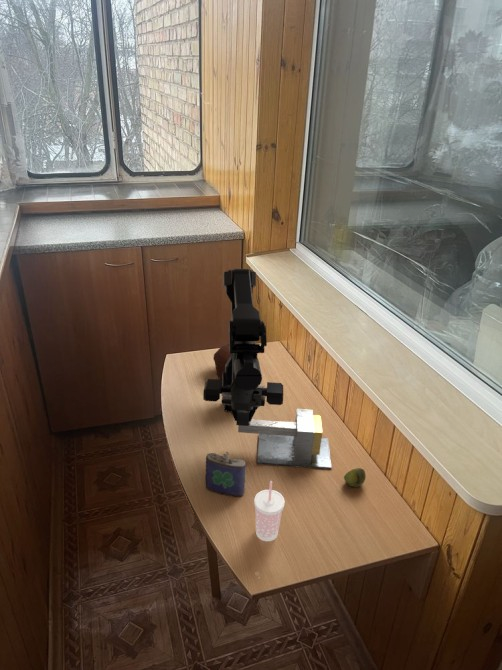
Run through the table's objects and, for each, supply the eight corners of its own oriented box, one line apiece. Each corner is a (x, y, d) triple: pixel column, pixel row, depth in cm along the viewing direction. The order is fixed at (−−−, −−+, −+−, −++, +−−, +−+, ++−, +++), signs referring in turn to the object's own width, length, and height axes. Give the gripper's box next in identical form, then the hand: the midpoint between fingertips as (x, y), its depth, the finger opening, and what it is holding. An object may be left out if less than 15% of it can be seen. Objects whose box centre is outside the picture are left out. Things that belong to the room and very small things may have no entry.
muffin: (248, 386, 155) (250, 358, 150) (211, 385, 155) (212, 356, 150) (249, 366, 165) (250, 339, 161) (214, 364, 165) (215, 337, 160)
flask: (245, 490, 117) (247, 454, 112) (242, 499, 114) (243, 462, 109) (207, 481, 119) (207, 445, 114) (203, 490, 116) (202, 453, 111)
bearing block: (257, 463, 125) (259, 431, 120) (259, 435, 134) (261, 403, 130) (331, 469, 124) (336, 436, 119) (327, 440, 134) (332, 408, 129)
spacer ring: (311, 454, 125) (313, 432, 122) (310, 436, 131) (312, 414, 128) (319, 454, 125) (322, 432, 122) (317, 437, 131) (320, 415, 128)
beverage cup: (267, 516, 110) (271, 466, 104) (287, 534, 106) (293, 483, 100) (246, 530, 106) (249, 479, 100) (266, 549, 102) (270, 498, 96)
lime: (340, 485, 119) (343, 469, 117) (350, 474, 123) (353, 458, 120) (358, 494, 117) (361, 478, 115) (367, 483, 120) (370, 466, 118)
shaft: (236, 432, 126) (236, 412, 123) (237, 425, 128) (237, 405, 125) (311, 438, 125) (313, 417, 122) (310, 430, 128) (313, 410, 125)
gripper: (199, 382, 112) (200, 439, 119) (285, 387, 111) (281, 443, 118) (206, 357, 121) (206, 410, 129) (284, 361, 121) (280, 415, 128)
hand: (242, 420), depth 126 cm, fingers closed on shaft, 3 cm apart
